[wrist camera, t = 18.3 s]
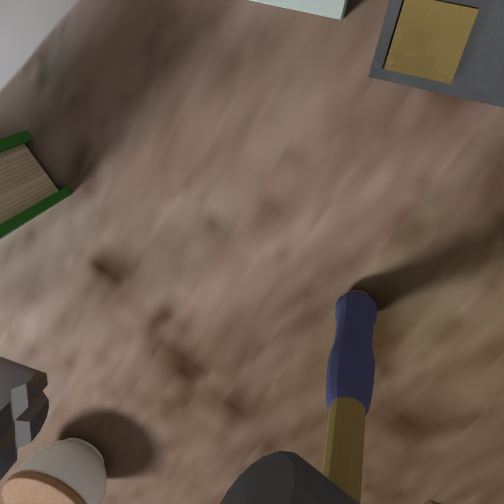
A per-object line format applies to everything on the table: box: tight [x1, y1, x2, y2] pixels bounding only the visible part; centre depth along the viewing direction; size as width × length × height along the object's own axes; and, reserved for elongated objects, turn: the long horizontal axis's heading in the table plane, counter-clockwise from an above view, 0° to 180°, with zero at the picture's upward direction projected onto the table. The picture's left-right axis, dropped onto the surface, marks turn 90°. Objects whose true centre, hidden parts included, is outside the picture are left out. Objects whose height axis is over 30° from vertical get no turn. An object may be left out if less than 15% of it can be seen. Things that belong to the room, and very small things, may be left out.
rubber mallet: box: [220, 290, 377, 504], centre depth 34 cm, size 12×8×30 cm, turn 46°
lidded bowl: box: [2, 438, 107, 504], centre depth 65 cm, size 13×13×11 cm
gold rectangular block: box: [384, 0, 479, 84], centre depth 32 cm, size 4×4×6 cm
